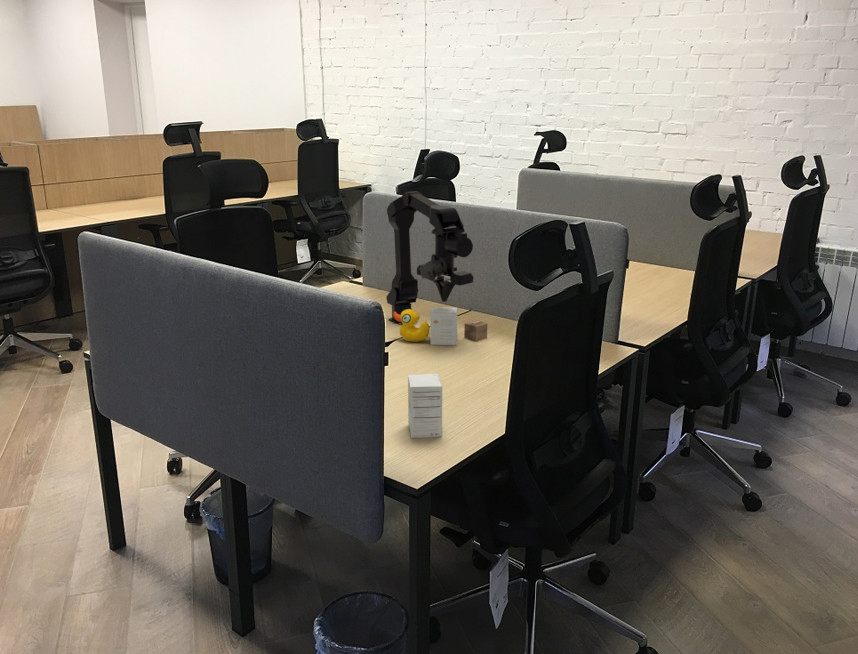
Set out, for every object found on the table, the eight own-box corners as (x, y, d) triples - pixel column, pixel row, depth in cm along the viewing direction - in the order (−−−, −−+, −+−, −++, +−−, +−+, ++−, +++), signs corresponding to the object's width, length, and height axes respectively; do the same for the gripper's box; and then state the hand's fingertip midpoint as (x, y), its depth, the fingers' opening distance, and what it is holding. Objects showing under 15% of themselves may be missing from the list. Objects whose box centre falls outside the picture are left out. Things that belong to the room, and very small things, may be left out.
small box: (457, 339, 232) (457, 307, 228) (456, 345, 226) (456, 312, 223) (431, 338, 232) (431, 306, 229) (430, 345, 227) (430, 311, 224)
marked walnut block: (463, 338, 234) (464, 321, 232) (474, 334, 237) (475, 318, 235) (476, 342, 230) (476, 325, 228) (487, 338, 233) (487, 322, 231)
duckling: (391, 342, 230) (390, 310, 226) (396, 336, 234) (396, 306, 231) (426, 345, 227) (426, 313, 224) (431, 339, 232) (431, 308, 228)
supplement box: (407, 424, 175) (407, 374, 171) (439, 423, 176) (439, 373, 172) (409, 438, 168) (409, 386, 164) (442, 437, 169) (443, 385, 165)
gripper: (403, 249, 222) (403, 300, 227) (447, 260, 209) (447, 313, 214) (430, 244, 229) (430, 293, 234) (475, 254, 216) (473, 306, 221)
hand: (444, 301), depth 225 cm, fingers closed
